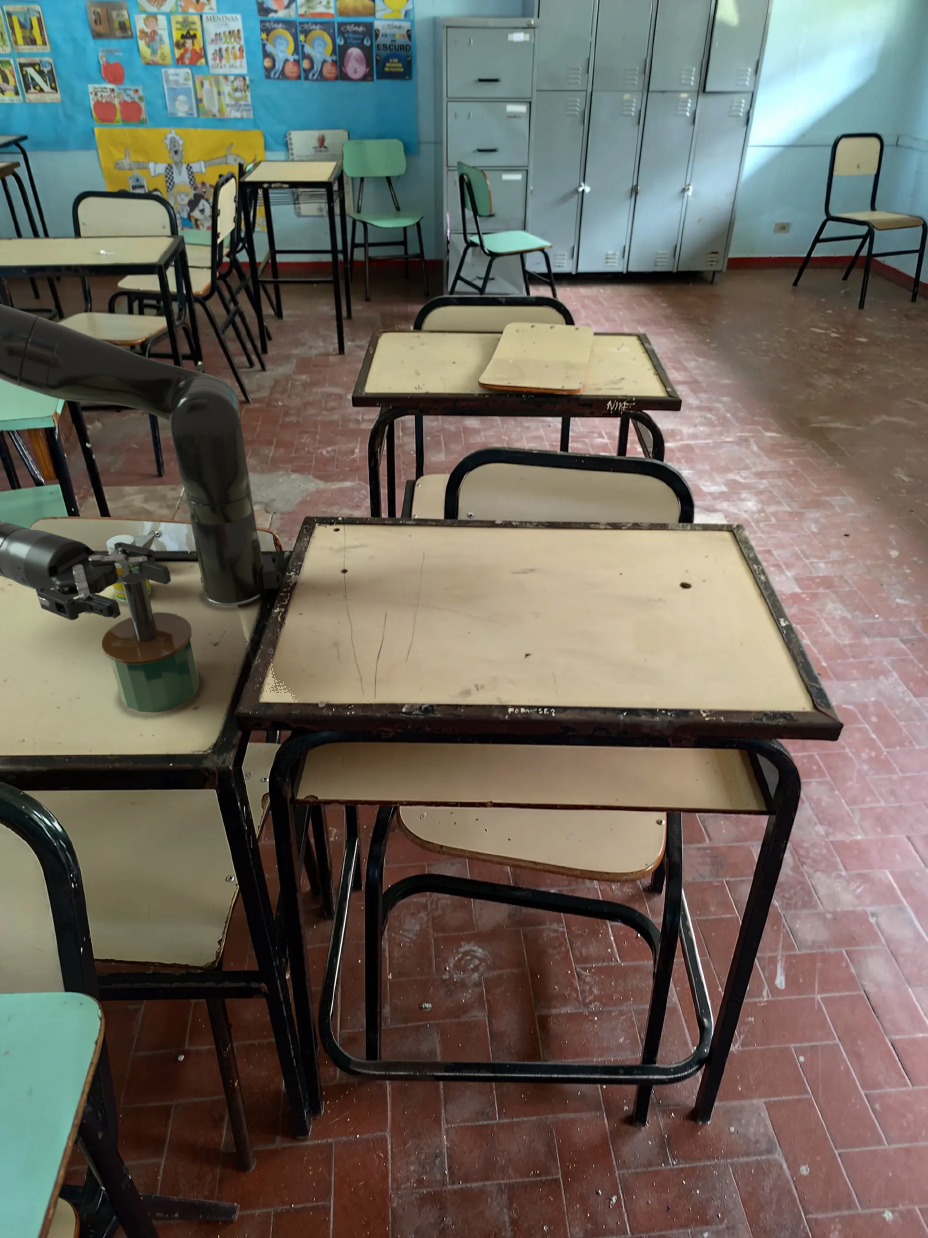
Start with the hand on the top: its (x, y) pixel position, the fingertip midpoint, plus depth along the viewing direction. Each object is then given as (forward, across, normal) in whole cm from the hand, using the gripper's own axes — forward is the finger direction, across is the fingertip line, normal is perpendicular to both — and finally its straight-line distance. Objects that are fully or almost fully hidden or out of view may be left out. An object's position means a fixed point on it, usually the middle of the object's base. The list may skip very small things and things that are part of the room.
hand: (143, 592), depth 103 cm
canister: (-1, 0, +16) cm, 16 cm away
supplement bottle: (-22, +16, +16) cm, 31 cm away
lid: (-1, 0, +7) cm, 7 cm away
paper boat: (-27, +24, +16) cm, 39 cm away
